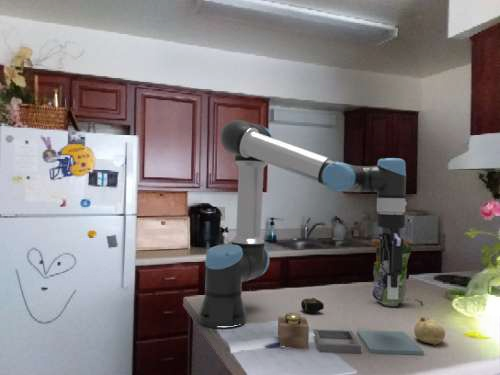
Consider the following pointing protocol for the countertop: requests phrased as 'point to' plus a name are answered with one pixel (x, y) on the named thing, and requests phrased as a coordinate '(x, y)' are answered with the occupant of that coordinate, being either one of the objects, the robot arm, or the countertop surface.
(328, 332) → the socket collar
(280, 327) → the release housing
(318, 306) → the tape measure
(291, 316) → the plunger
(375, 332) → the light blue square tile
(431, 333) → the onion
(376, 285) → the beverage can
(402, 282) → the pouch
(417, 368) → the countertop surface
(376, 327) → the countertop surface
